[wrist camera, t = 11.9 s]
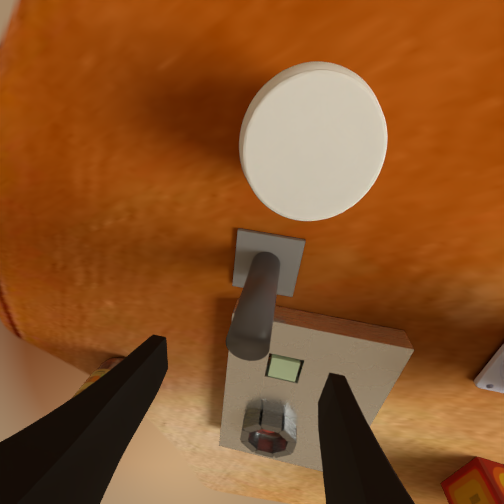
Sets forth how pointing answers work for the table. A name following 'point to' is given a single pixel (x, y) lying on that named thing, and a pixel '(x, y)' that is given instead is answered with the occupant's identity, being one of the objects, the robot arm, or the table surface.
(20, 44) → the table surface
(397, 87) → the table surface
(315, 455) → the panel
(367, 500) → the robot arm
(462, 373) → the table surface
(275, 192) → the supplement bottle
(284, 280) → the pad
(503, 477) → the baking soda box
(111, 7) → the table surface
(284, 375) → the pad
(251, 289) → the dark grey cylinder
